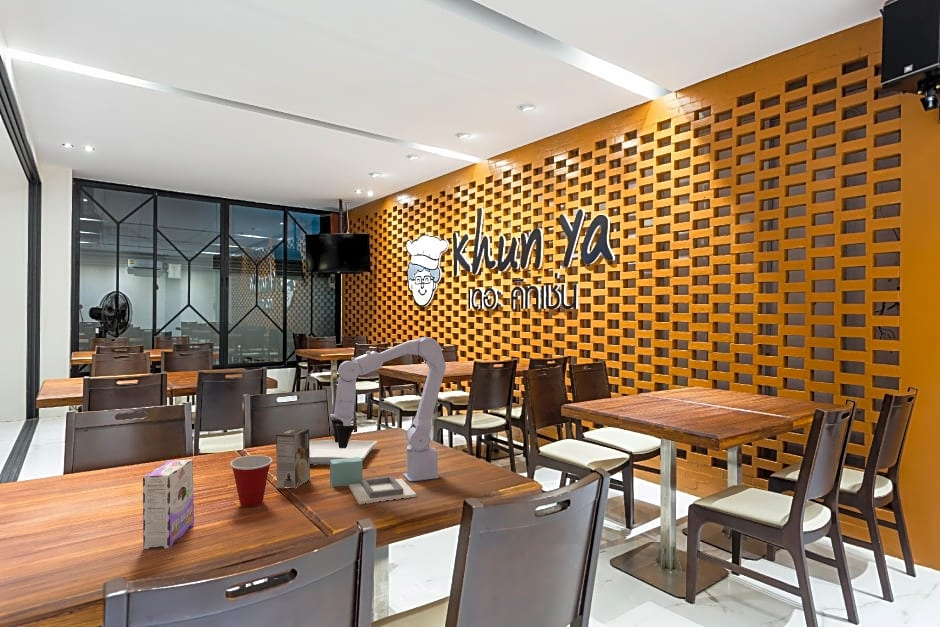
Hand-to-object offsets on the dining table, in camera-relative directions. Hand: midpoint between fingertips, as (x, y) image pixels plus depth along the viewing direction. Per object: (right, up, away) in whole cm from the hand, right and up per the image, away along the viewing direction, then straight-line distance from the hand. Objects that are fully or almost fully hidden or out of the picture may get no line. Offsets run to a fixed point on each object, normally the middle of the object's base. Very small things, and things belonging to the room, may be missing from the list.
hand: (340, 445), depth 171 cm
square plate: (-10, -12, +32) cm, 35 cm away
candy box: (-31, -12, -40) cm, 52 cm away
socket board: (+14, -12, -8) cm, 20 cm away
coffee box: (-14, -12, 0) cm, 19 cm away
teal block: (+2, -12, +1) cm, 12 cm away
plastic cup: (-20, -12, -18) cm, 29 cm away
